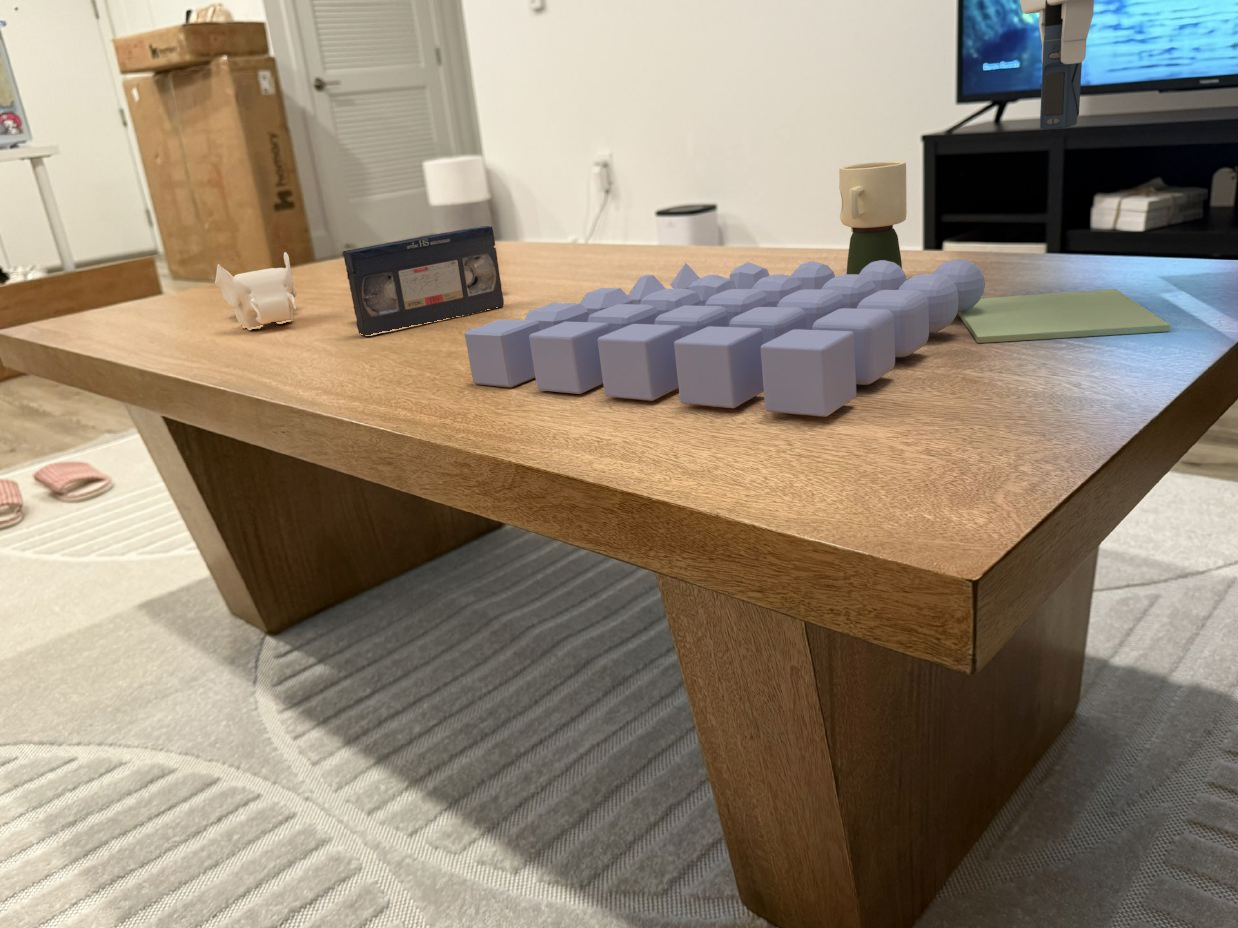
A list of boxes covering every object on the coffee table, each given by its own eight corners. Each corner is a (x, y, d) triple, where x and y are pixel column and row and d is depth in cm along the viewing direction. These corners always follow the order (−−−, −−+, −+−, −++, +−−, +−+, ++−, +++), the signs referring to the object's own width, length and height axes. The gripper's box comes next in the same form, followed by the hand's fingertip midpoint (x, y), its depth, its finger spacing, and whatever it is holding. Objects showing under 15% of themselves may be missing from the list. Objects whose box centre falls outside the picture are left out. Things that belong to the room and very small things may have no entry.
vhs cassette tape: (365, 338, 114) (348, 252, 110) (357, 335, 116) (339, 250, 113) (507, 307, 123) (495, 226, 119) (496, 305, 125) (484, 225, 122)
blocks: (471, 384, 89) (462, 331, 87) (684, 301, 114) (679, 258, 112) (827, 418, 68) (823, 348, 66) (992, 306, 93) (992, 254, 91)
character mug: (865, 273, 118) (862, 161, 114) (923, 274, 114) (922, 157, 109) (824, 293, 110) (819, 172, 106) (884, 294, 106) (882, 169, 101)
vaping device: (1035, 130, 85) (1041, -22, 81) (1050, 125, 89) (1057, -21, 85) (1067, 128, 84) (1075, -28, 80) (1081, 123, 88) (1089, -26, 84)
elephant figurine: (244, 340, 121) (227, 268, 118) (221, 329, 130) (204, 261, 127) (320, 324, 125) (305, 254, 122) (292, 314, 135) (278, 249, 132)
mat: (1115, 295, 94) (1116, 288, 94) (1169, 331, 81) (1170, 324, 80) (952, 306, 97) (952, 300, 97) (977, 343, 84) (977, 336, 83)
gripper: (1154, -153, 70) (1139, 57, 75) (1081, -103, 89) (1073, 62, 93) (1058, -138, 71) (1049, 67, 76) (1007, -93, 90) (1002, 69, 95)
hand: (1062, 64), depth 85 cm, fingers closed on vaping device, 5 cm apart
